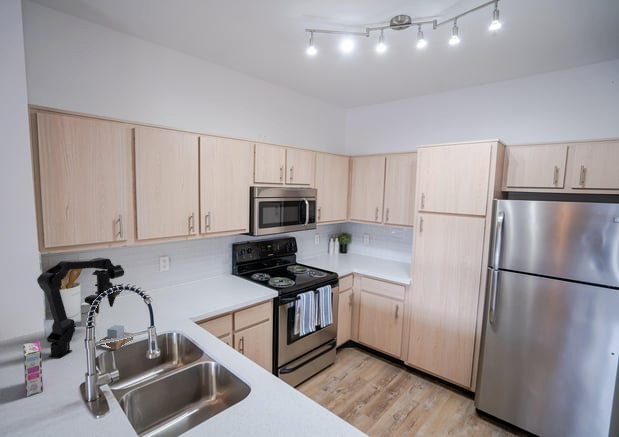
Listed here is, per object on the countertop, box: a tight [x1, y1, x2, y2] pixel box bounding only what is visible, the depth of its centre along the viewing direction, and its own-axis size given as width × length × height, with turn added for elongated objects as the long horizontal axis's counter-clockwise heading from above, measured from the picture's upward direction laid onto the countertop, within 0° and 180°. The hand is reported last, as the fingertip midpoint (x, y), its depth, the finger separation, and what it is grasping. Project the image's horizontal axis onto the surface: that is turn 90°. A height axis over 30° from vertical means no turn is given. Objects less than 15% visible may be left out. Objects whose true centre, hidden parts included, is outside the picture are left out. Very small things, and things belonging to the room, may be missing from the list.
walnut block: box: [99, 331, 134, 351], centre depth 152 cm, size 10×10×4 cm
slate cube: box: [106, 324, 125, 339], centre depth 152 cm, size 5×5×5 cm
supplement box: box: [80, 301, 101, 327], centre depth 175 cm, size 7×7×13 cm
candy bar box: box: [23, 340, 44, 398], centre depth 117 cm, size 11×5×16 cm, turn 44°
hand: (104, 310), depth 162 cm, fingers open, 9 cm apart
